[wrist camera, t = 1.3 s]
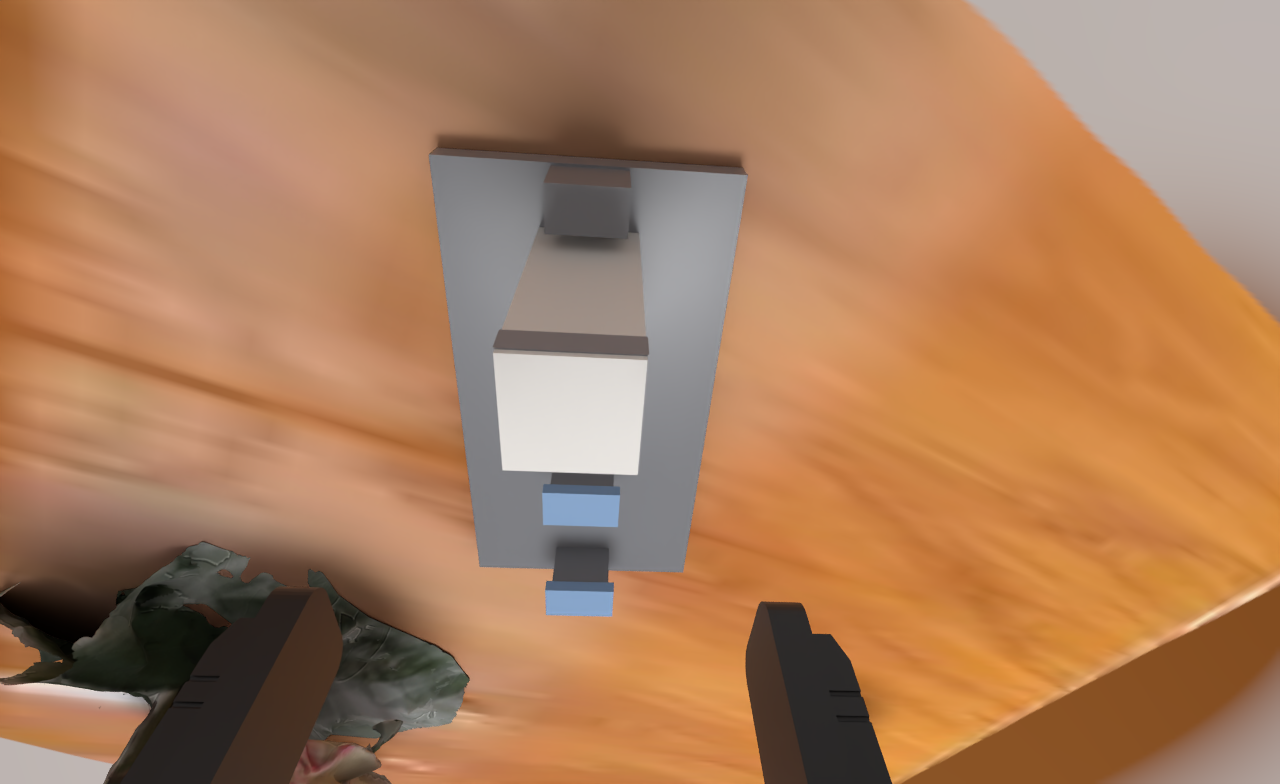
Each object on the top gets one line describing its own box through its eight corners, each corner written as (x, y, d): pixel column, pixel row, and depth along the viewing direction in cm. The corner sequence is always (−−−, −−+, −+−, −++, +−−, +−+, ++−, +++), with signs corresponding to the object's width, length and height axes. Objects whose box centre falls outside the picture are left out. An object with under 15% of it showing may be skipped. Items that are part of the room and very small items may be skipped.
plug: (537, 225, 24) (491, 351, 15) (640, 231, 24) (649, 358, 15) (540, 318, 26) (501, 471, 17) (634, 323, 26) (639, 476, 18)
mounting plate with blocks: (437, 147, 23) (402, 175, 19) (742, 167, 24) (763, 198, 20) (483, 551, 36) (468, 613, 32) (681, 557, 36) (687, 618, 33)
